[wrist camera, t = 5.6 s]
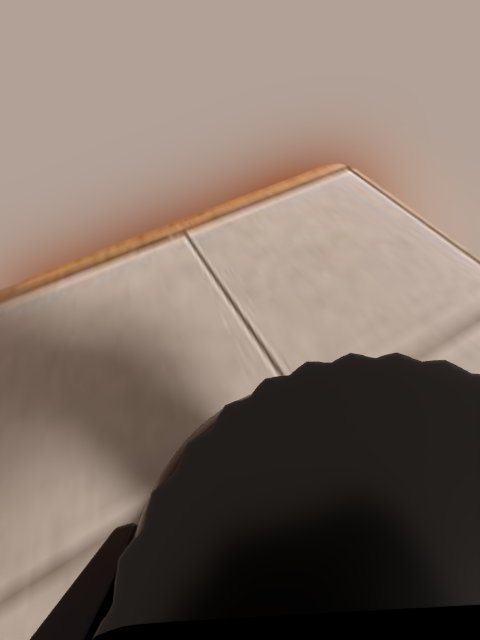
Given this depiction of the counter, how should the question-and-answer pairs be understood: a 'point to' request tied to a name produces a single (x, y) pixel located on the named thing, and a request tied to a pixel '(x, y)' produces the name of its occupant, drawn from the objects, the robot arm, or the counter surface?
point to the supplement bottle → (316, 513)
